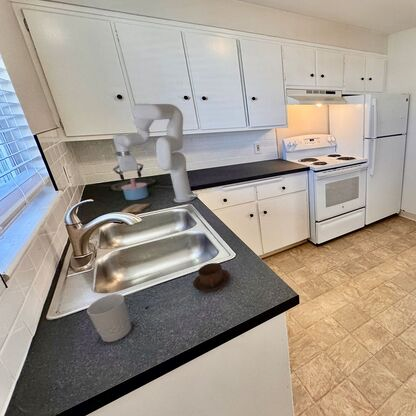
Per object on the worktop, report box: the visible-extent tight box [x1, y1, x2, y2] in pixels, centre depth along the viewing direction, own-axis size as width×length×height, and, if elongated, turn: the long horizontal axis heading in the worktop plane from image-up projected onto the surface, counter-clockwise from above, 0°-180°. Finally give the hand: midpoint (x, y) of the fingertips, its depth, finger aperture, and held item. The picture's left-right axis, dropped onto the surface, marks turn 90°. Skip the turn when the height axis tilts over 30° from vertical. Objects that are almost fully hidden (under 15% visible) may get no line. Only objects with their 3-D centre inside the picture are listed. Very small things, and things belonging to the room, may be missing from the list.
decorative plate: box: [110, 178, 157, 192], centre depth 213 cm, size 30×2×30 cm
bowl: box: [122, 186, 149, 201], centre depth 185 cm, size 14×14×8 cm
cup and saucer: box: [192, 262, 231, 292], centre depth 94 cm, size 12×12×6 cm
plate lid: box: [121, 178, 147, 190], centre depth 183 cm, size 15×15×6 cm
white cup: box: [86, 293, 132, 343], centre depth 73 cm, size 8×8×10 cm
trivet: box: [121, 203, 151, 213], centre depth 165 cm, size 11×11×1 cm
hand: (131, 178), depth 182 cm, fingers open, 9 cm apart
